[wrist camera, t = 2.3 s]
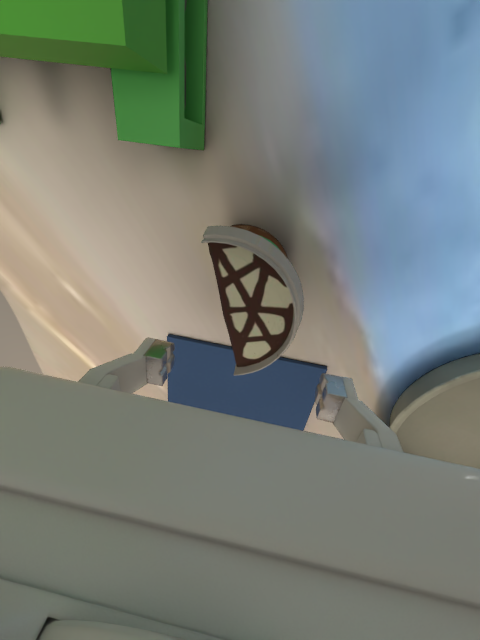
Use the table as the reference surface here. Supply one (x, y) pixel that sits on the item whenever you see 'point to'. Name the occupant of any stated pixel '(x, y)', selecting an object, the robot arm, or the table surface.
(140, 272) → the table surface
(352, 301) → the table surface
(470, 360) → the cake pan
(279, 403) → the mat
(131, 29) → the tank
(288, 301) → the food container
